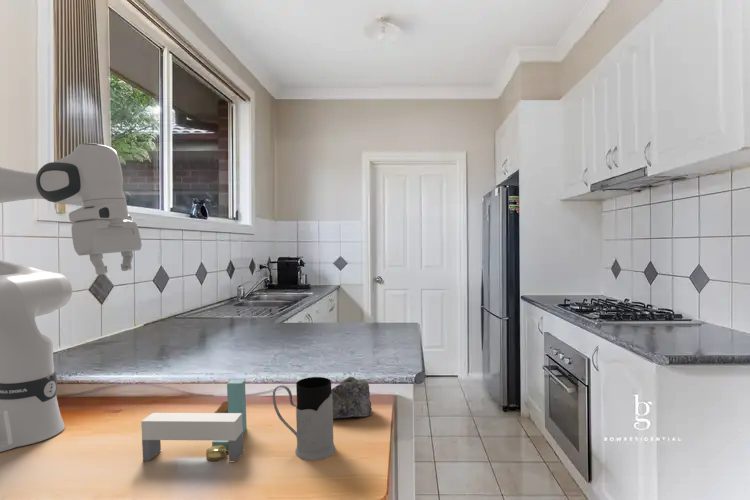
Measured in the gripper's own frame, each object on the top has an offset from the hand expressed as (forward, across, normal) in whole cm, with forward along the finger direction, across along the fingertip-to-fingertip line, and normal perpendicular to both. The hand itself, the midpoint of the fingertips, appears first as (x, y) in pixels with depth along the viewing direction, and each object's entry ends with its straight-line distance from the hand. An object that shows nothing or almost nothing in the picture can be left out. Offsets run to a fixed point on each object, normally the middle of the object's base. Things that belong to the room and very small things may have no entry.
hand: (114, 272), depth 111 cm
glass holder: (+43, +6, +41) cm, 60 cm away
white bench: (+41, +10, +18) cm, 46 cm away
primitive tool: (+41, -13, +15) cm, 46 cm away
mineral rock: (+44, -13, +48) cm, 66 cm away
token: (+42, +10, +23) cm, 48 cm away
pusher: (+41, +1, +23) cm, 47 cm away
